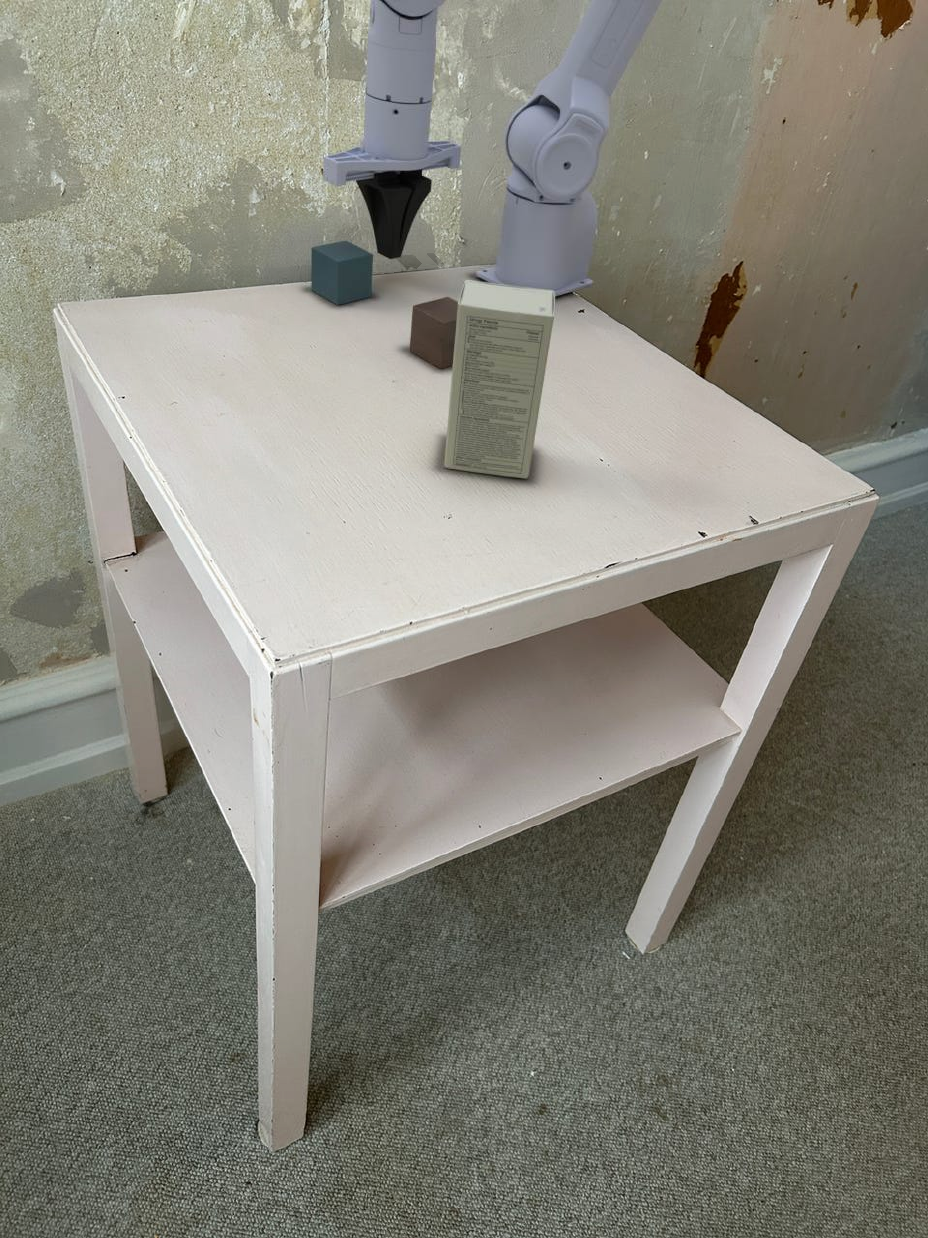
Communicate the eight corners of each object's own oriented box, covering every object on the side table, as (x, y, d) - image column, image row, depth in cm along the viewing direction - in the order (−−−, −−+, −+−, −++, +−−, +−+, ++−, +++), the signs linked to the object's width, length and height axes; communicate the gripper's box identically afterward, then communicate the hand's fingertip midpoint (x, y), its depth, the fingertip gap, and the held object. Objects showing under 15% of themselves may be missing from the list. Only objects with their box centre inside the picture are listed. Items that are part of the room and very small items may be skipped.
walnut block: (443, 340, 83) (447, 296, 80) (474, 358, 81) (480, 313, 78) (409, 350, 81) (412, 305, 78) (440, 369, 79) (445, 323, 76)
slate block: (344, 282, 90) (346, 239, 88) (371, 297, 88) (373, 254, 86) (310, 290, 88) (311, 246, 86) (337, 305, 86) (338, 261, 84)
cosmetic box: (530, 450, 70) (559, 289, 62) (528, 482, 67) (557, 316, 59) (446, 438, 70) (464, 276, 62) (439, 469, 67) (457, 301, 59)
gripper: (430, 79, 87) (418, 229, 96) (301, 89, 79) (301, 252, 88) (483, 98, 84) (465, 252, 93) (354, 110, 75) (349, 279, 84)
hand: (389, 254), depth 90 cm, fingers closed
